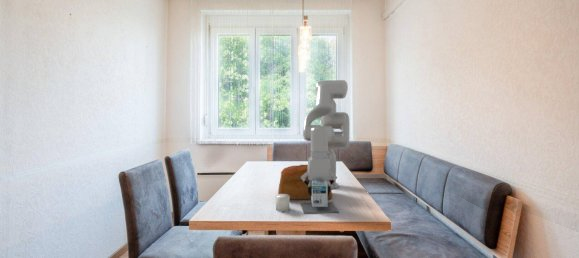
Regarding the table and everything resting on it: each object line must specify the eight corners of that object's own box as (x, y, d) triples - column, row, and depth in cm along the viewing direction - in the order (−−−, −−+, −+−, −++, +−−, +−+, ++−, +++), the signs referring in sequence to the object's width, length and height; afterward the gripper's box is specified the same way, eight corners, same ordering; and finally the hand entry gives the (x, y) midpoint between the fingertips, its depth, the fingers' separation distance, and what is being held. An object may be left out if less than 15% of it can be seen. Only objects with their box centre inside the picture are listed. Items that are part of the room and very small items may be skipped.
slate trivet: (300, 204, 126) (300, 202, 126) (332, 203, 127) (332, 201, 127) (303, 213, 114) (303, 212, 114) (338, 212, 115) (338, 211, 115)
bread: (333, 201, 130) (333, 168, 129) (277, 201, 131) (277, 168, 130) (328, 191, 146) (329, 162, 145) (279, 191, 147) (279, 162, 146)
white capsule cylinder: (275, 207, 122) (275, 194, 122) (288, 206, 123) (289, 193, 122) (276, 212, 116) (276, 198, 116) (290, 211, 117) (290, 198, 116)
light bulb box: (327, 207, 115) (328, 182, 115) (312, 207, 115) (312, 182, 115) (325, 199, 126) (325, 176, 125) (310, 199, 126) (310, 176, 125)
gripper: (336, 153, 124) (335, 191, 125) (298, 153, 122) (298, 192, 123) (340, 156, 116) (340, 196, 118) (300, 156, 115) (300, 197, 116)
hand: (318, 194), depth 121 cm, fingers closed on light bulb box, 7 cm apart
